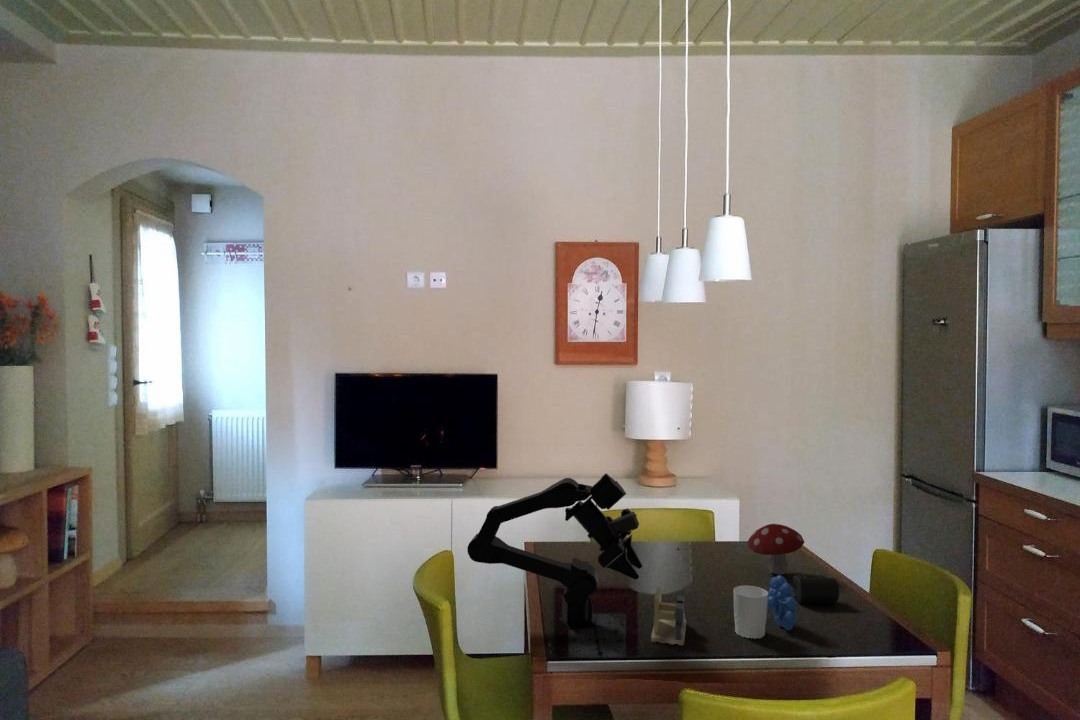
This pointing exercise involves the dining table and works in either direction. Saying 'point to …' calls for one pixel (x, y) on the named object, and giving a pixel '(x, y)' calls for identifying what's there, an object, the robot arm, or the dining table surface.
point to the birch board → (667, 633)
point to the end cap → (815, 590)
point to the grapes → (782, 602)
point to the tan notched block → (662, 610)
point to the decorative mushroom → (775, 545)
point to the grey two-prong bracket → (679, 618)
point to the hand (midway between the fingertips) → (639, 572)
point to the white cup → (750, 611)
